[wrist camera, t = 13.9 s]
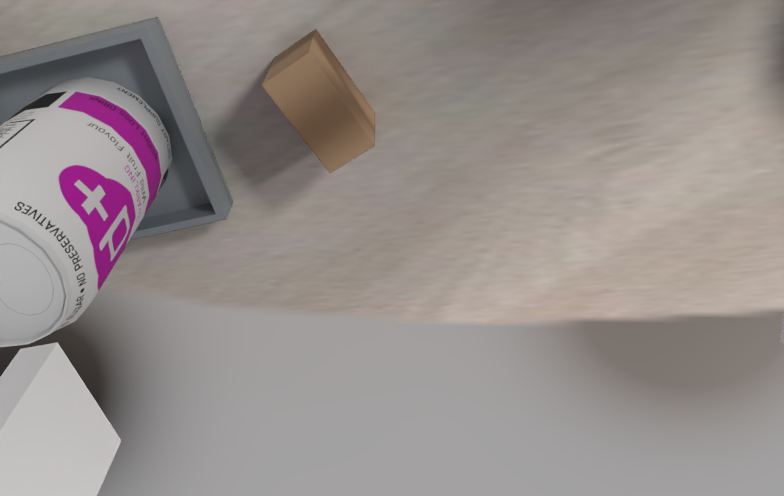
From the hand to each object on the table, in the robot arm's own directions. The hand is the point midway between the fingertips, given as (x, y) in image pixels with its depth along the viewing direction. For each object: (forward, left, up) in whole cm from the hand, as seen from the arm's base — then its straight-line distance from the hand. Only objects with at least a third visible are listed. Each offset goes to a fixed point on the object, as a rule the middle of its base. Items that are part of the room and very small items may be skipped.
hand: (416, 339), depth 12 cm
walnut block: (+4, -5, -29) cm, 30 cm away
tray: (+4, -19, -29) cm, 35 cm away
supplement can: (+4, -19, -29) cm, 34 cm away
